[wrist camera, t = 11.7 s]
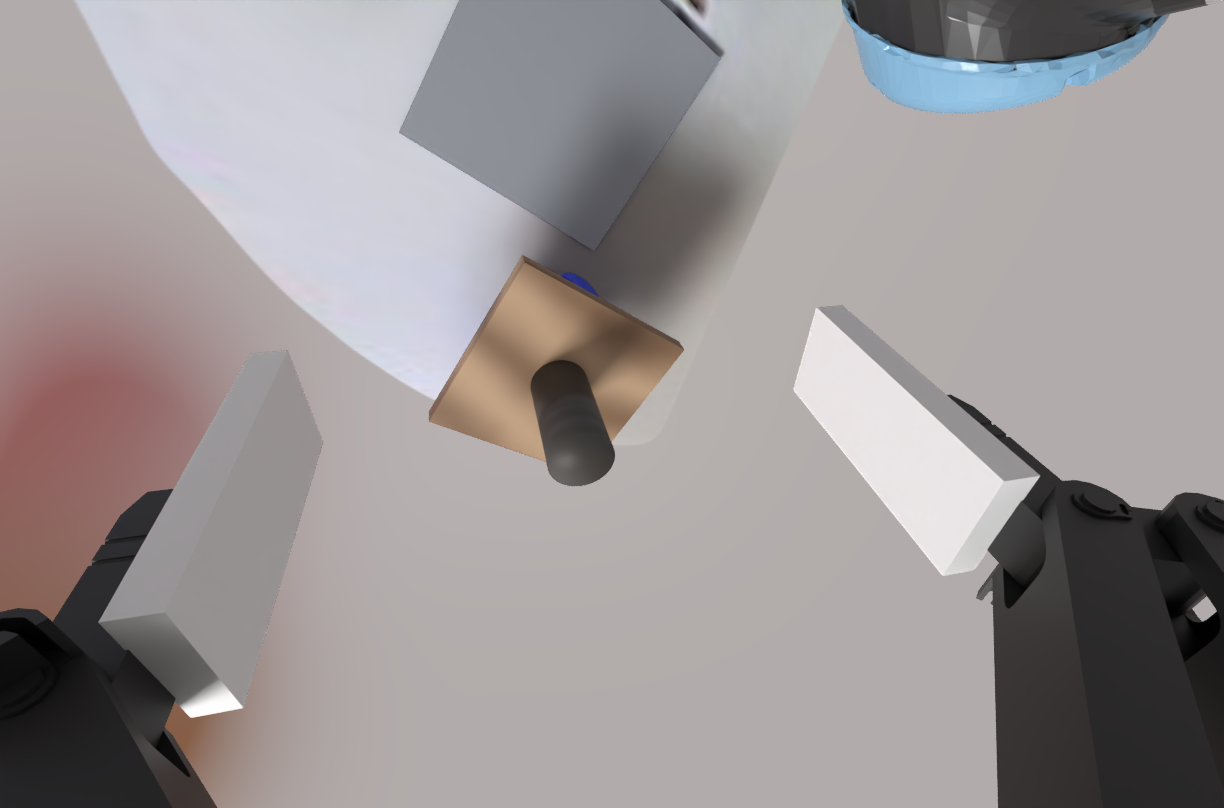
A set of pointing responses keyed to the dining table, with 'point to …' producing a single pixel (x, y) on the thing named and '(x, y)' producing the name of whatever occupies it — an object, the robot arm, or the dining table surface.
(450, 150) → the mat
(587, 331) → the lid
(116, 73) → the dining table surface
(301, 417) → the robot arm
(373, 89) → the dining table surface
